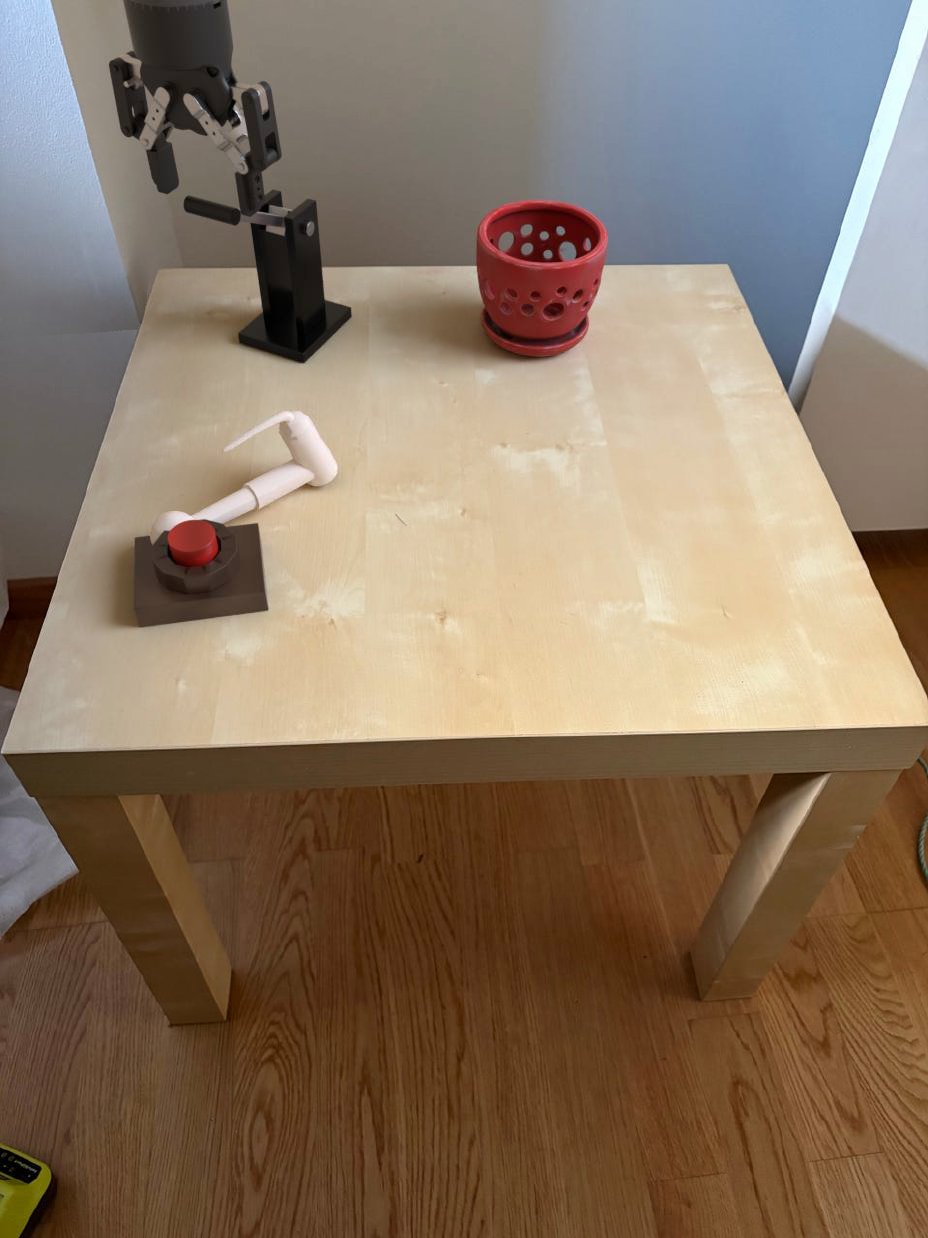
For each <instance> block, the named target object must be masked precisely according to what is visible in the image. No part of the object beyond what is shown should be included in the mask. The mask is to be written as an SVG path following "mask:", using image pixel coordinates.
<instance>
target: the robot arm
mask: <svg viewBox="0 0 928 1238" xmlns="http://www.w3.org/2000/svg"><path fill="white" fill-rule="evenodd" d="M122 1H123V7H124V11H125V15H126V19H127V26H128V29H129V35H130V40H131V46H132V49H133V50H130V51H128V52H125V53H123V54H122V55H119V56H117V57H116V58H114V59H112V60H110V61H109V63H108V68H109V74H110V79H111V85H112V90H113V96H114V101H115V106H116V112H117V117H118V123H119V129H120V131H121V133H122V135H124V136H125V137H126V138H131V137H133V138H135V139H136V140H138V141H139V143H140V145H141V147H142V148H143V149H144V150H145V154H146V156H147V163H148V166H149V171H150V176H151V179H152V181H153V183H154V185H155V186H156V190H157V192H158V193H160V194H165V195H169V194H170V193H171V192H173V191H175V190H177V188H178V187H179V185H180V179H179V174H178V173H179V172H178V169H177V162H176V158H175V153H174V148H173V143H172V142H170V141H167V140H168V139H169V138H170V136H171V134H172V132H173V129H176V130H180V131H187V130H188V131H192V132H194V133H195V134H197V135H200V136H204V137H207V136H208V137H209V138H210V139H211V141H212V143H213V144H214V146H215V148H216V149H218V150H219V151H222V152H224V153H225V155H226V156H227V158H228V159H229V160H230V162H231V164H232V165H233V167H234V168H235V170H236V172H234V178H235V184H236V192H237V198H238V205H239V206H238V207H239V208H240V212H241V214H242V215H244V216H248V217H251V216H253V215H254V214H255V213H257V212H258V211H259V210H260V209H261V206H263V205H264V202H265V195H266V193H265V188H264V180H263V179H264V178H263V174H262V173H263V172H264V171H265V170H267V169H268V168H269V167H270V166H272V165H273V164H275V163H276V162H277V163H278V161H280V160H281V159H282V157H283V154H282V148H281V147H282V146H281V140H280V135H279V130H278V123H277V116H276V110H275V104H274V98H273V91H272V87H271V86H270V84H269V83H268V82H267V81H265V80H261V81H259V82H257V83H255V84H248V83H241V82H239V80H238V79H237V77H236V75H235V72H234V70H233V67H232V59H233V53H234V42H233V32H232V26H231V19H230V12H229V11H230V10H229V5H228V0H122ZM146 89H147V91H148V92H149V94H150V95H151V97H152V99H153V100H152V103H151V105H150V107H149V106H148V100H147V94H146ZM237 104H238V105H239V107H238V105H237ZM227 121H228V123H229V124H230V126H231V130H229V131H226V130H225V129H223V127H224V126H225V125H226V124H227Z"/></svg>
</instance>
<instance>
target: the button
mask: <svg viewBox="0 0 928 1238" xmlns="http://www.w3.org/2000/svg"><path fill="white" fill-rule="evenodd" d="M168 543H169V547H170V550H171V554H172V557H173V559H174V561H175V562H176V563H178V564H179V565H181V566H185V567H195V566H203V565H205V564H207V563H209V562H210V561H212V560H213V559H214V558H215V557H216V555H217V553H218V544H217V539H216V535H215V531H214V528H213V527H212V526H211V525H210V524H209V523H207V522H205V521H201V520H188V521H184V522H181V523H179V524H177V525H176V526H174V527H173V528H172V529H171V530H170V532H169V534H168Z"/></svg>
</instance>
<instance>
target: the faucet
mask: <svg viewBox="0 0 928 1238" xmlns="http://www.w3.org/2000/svg"><path fill="white" fill-rule="evenodd" d="M277 424H279V426H278V430H279V431H278V434H279V435H280V437H281V439H282V441H283V442H284V444H285V446H286V447H287V449H288V450H289V453H290V455H291V457H292V459H290V460H288V461H286V462H284V463H282V464H280V465H278V466H276V467H274V468H273V469H271V470H269V471H267V472H265V473H263V474H261V475H259V476H257V477H255V478H253V479H251V480H249V481H247V482H246V483H244V484H242V488H240V489H238V490H237V491H236V490H235V492H233V493H230V494H229V495H227V496H225V497H223V498H222V499H219V500H218V501H215V502H213V503H211V504H210V505H208V506H206V507H205V508H202V509H200V510H199V511H197V512H195V513H193V514H192V515H190V514H188V513H187V512H183V511H182V510H181V511H180V510H169V511H166V512H163V513H162V514H160V515H159V516H157V518H156V519H155V520H154V521H153V522H152V524H151V527H150V529H149V530H150V531H149V536H150V540H151V543H152V545H153V544H154V543H155V541H156V540H157V539H158V537H159V536H160V535H161V534H162V532H164V531H165V530H166V531H170V530H171V529H172V528H173V527H174V526H176V525H177V524H179V523H181V522H184V521H188V520H201V519H206V520H210V521H214V522H218V523H222V524H226V523H227V522H230V521H231V520H234V519H235V518H238V517H239V516H242V515H244V514H246V513H248V512H250V511H253V510H254V511H258V510H259V509H262V508H264V507H265V506H267V505H269V504H271V503H274V502H275V501H276V500H278V499H280V498H282V497H284V496H285V495H288V494H290V493H291V492H293V491H294V490H296V489H298V488H300V487H302V486H304V485H305V484H307V485H310V486H311V487H312V486H313V487H321V486H323V487H324V486H326V485H327V484H329V483H330V482H332V481H333V480H334V478H335V477H336V476H337V474H338V467H339V466H338V463H337V461H336V459H335V457H334V456H333V454H332V452H331V450H330V449H329V447H328V446H327V444H326V443H325V442H324V440H323V439H322V437H321V436H320V434H319V432H318V430H317V428H316V427H315V425H314V423H313V421H312V419H311V418H310V416H309V415H307V414H305V413H303V412H302V411H301V410H290V411H288V410H282V411H280V412H278V413H276V414H273V415H272V416H270V417H268V418H266V419H265V420H263V421H262V422H260V423H258V424H257V425H255V426H253V427H252V428H250V429H249V430H246V432H244V433H243V434H241V435H240V436H238V437H236V438H235V439H233V440H232V441H231V442H229V443H228V444H227V445H225V446H224V447H223V448H222V452H223V453H225V452H228V451H230V450H232V449H234V448H236V447H237V446H239V445H241V444H242V443H244V442H245V441H247V440H249V439H250V438H252V437H253V436H255V435H257V434H259V433H261V432H263V431H265V430H266V429H269V428H271V427H273V426H275V425H277Z"/></svg>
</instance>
